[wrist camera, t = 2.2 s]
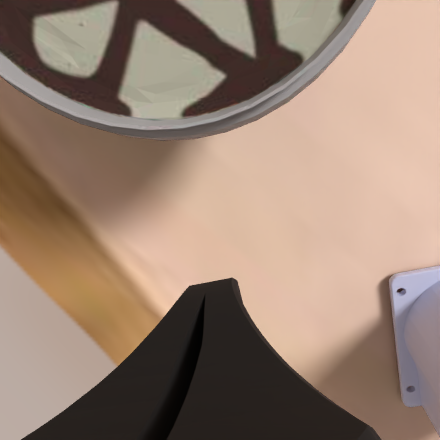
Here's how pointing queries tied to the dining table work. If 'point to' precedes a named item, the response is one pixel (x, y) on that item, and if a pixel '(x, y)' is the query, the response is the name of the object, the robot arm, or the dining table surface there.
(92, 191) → the dining table surface
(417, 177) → the dining table surface
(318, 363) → the dining table surface
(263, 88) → the food container
